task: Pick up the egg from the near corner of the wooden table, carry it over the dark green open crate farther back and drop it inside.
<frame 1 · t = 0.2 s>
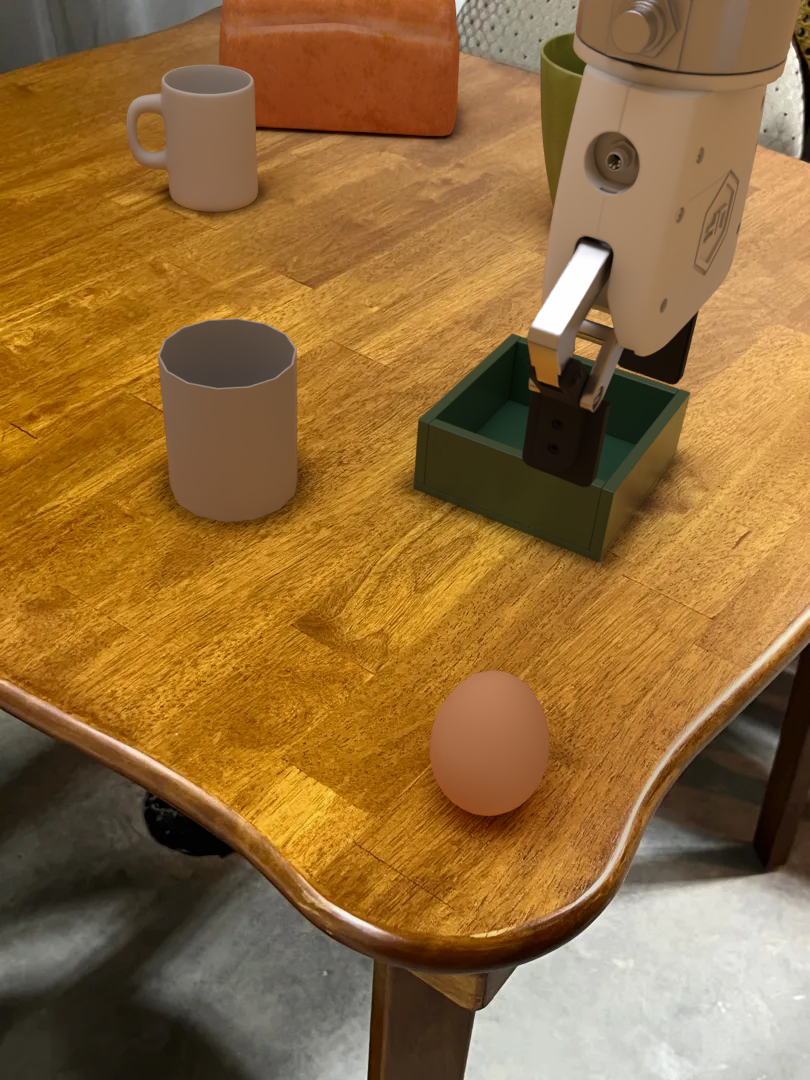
hand: (605, 420, 51), 19 cm above the table, tool pointing down, fingers open, 9 cm apart
bread: (339, 116, 131), on the table
egg: (481, 799, 58), on the table
dark green open crate: (547, 473, 80), on the table
mug: (196, 196, 112), on the table
cup: (234, 485, 77), on the table
flower pot: (596, 230, 111), on the table
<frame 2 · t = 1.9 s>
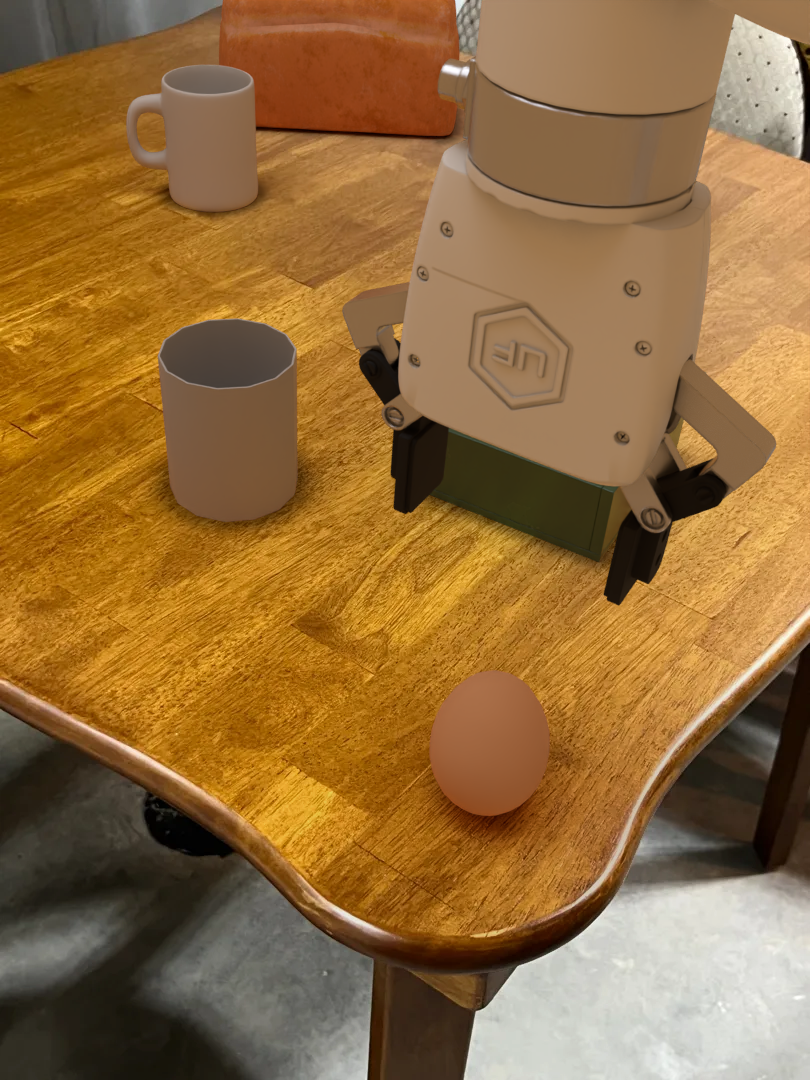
hand: (518, 538, 48), 17 cm above the table, tool pointing down, fingers open, 9 cm apart
nothing on the table moved.
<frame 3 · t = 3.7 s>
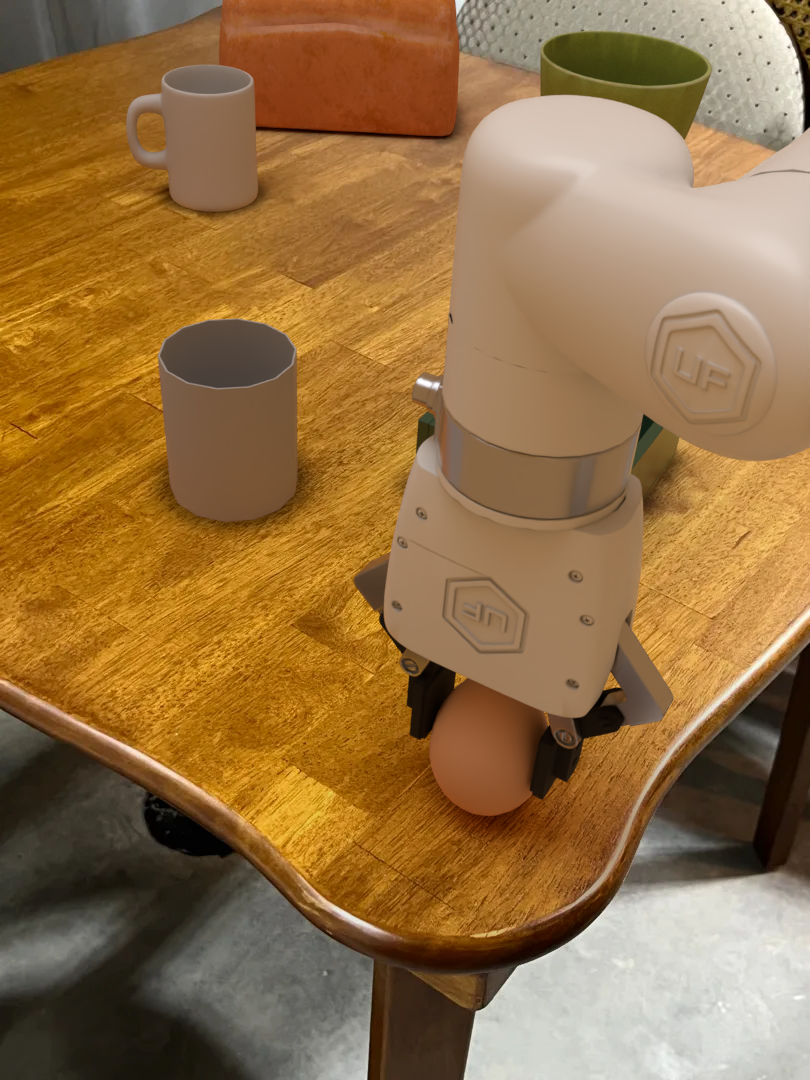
hand: (489, 745, 56), 4 cm above the table, tool pointing down, fingers closed on egg, 5 cm apart
egg: (481, 799, 58), on the table, touching gripper
everything else where it was.
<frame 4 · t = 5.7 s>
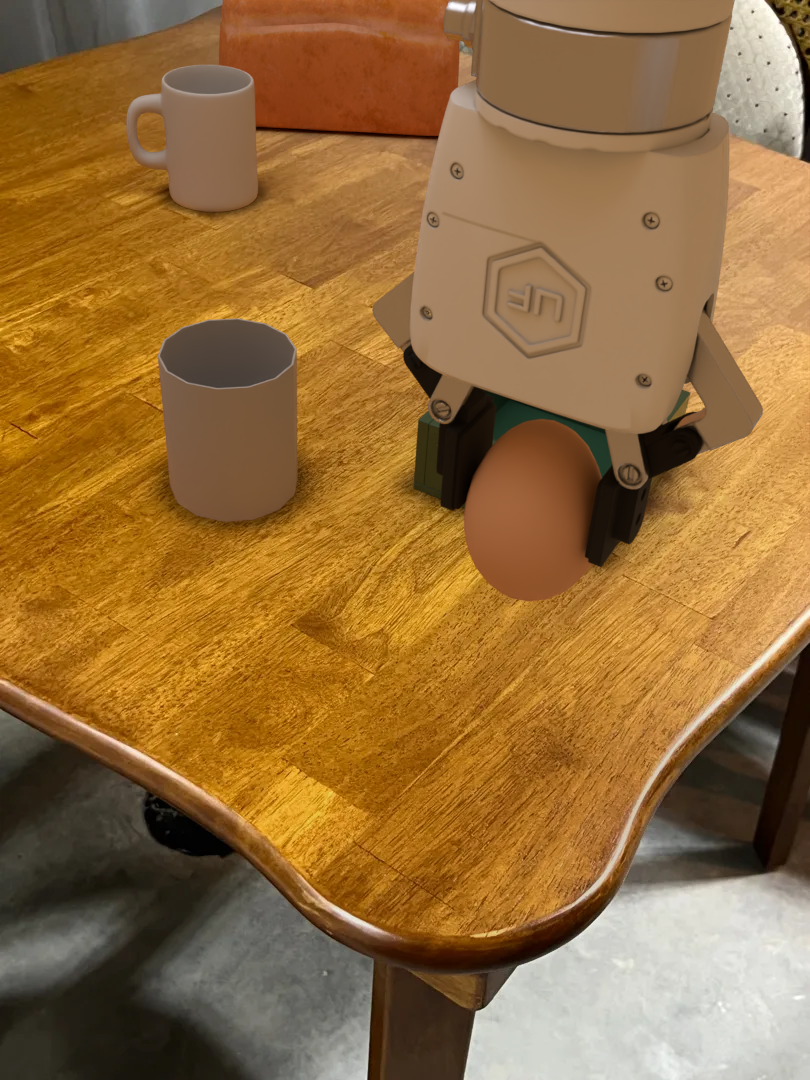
hand: (534, 515, 47), 18 cm above the table, tool pointing down, fingers closed on egg, 5 cm apart
egg: (524, 591, 50), point 14 cm above the table, touching gripper
everything else where it was.
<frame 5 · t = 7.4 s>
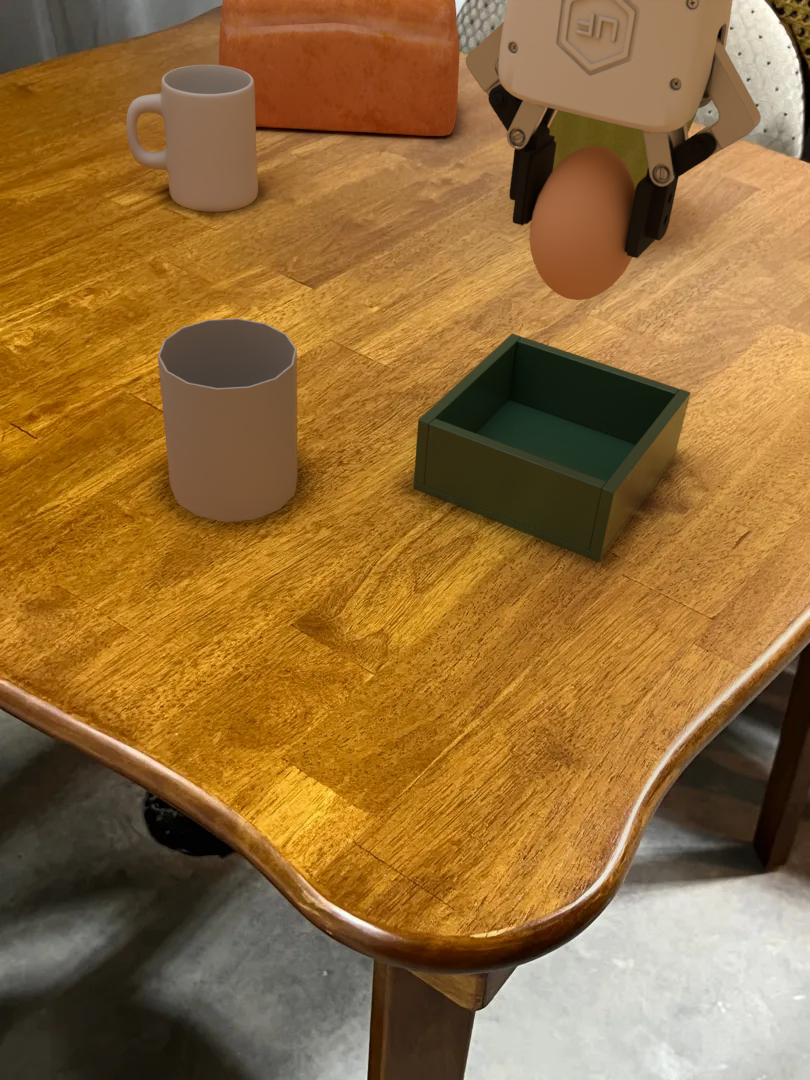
hand: (584, 228, 62), 21 cm above the table, tool pointing down, fingers closed on egg, 5 cm apart
egg: (573, 298, 64), point 17 cm above the table, touching gripper
everything else where it was.
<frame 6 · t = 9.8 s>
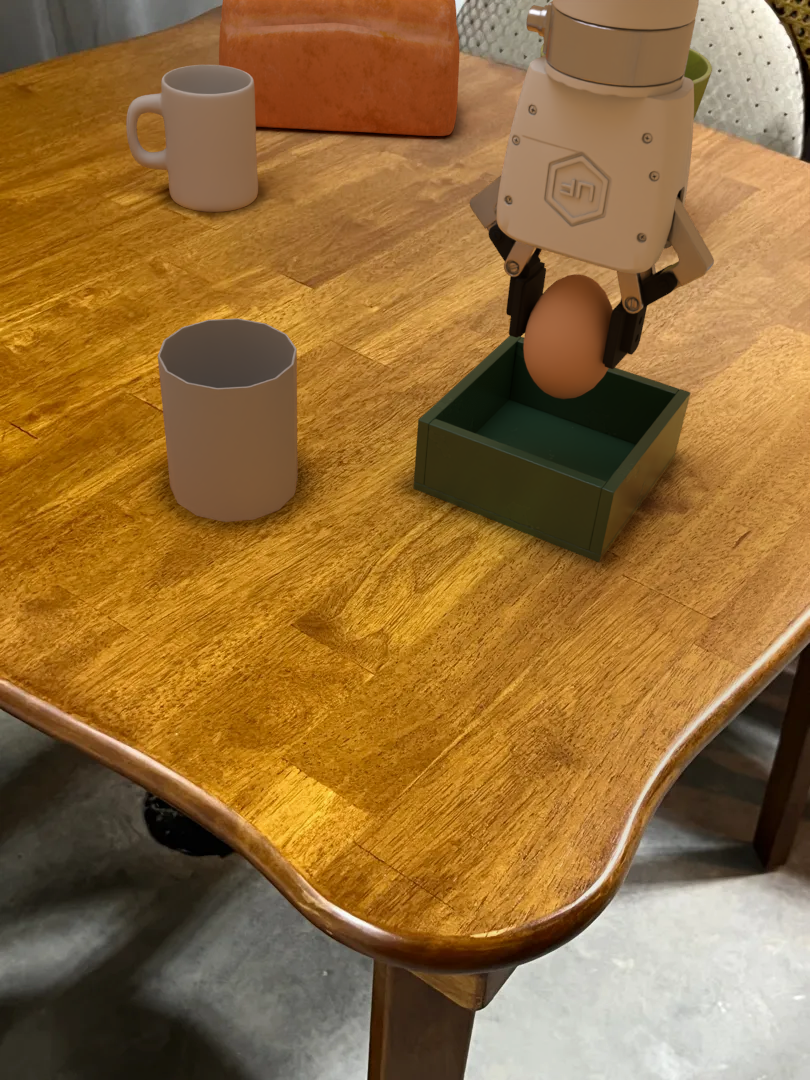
hand: (569, 340, 73), 11 cm above the table, tool pointing down, fingers closed on egg, 5 cm apart
egg: (560, 396, 76), point 6 cm above the table, touching gripper
everything else where it was.
when the fingers open (7 cm above the table, at t = 11.2 s): egg drops 1 cm, resting on dark green open crate.
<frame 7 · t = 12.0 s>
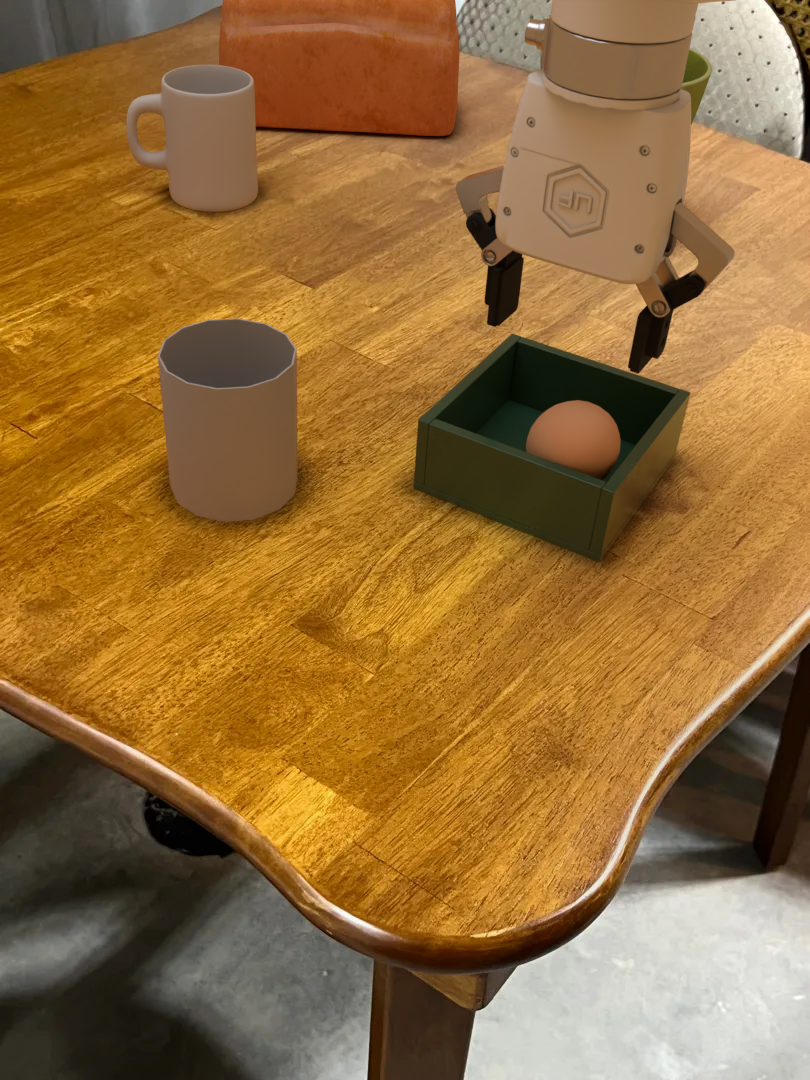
hand: (570, 339, 73), 11 cm above the table, tool pointing down, fingers open, 9 cm apart
egg: (553, 458, 78), point 2 cm above the table, touching dark green open crate
everything else where it was.
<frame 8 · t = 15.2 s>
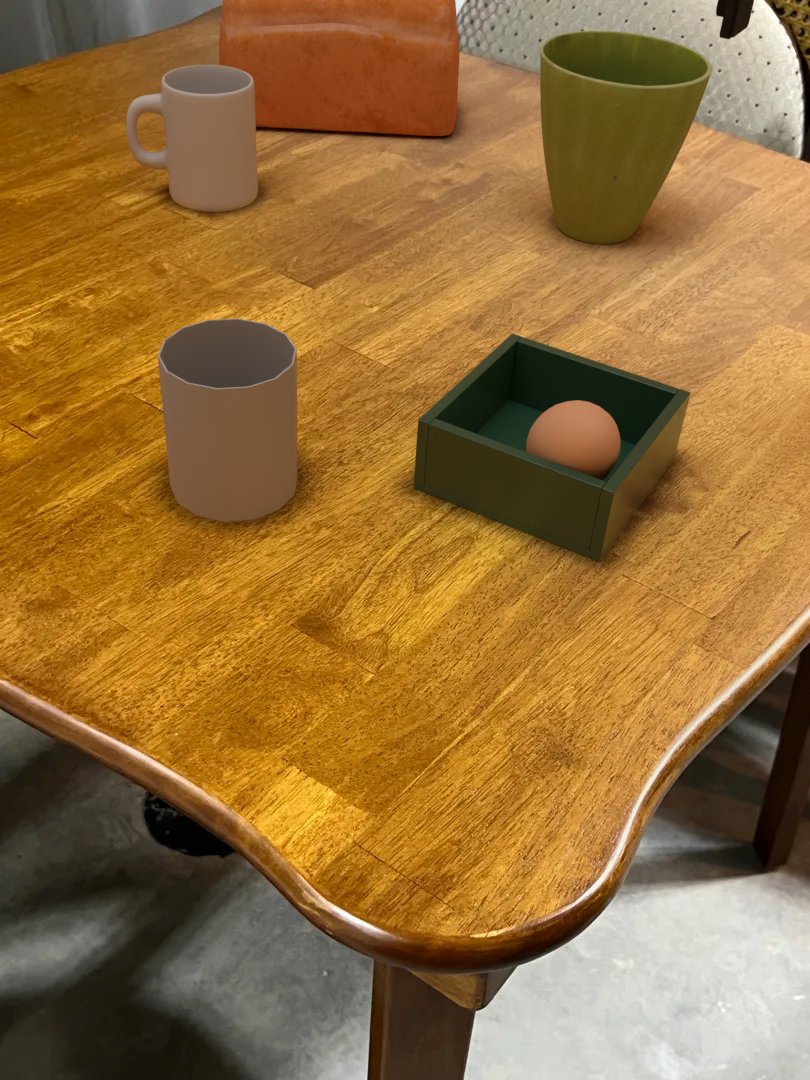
nothing on the table moved.
at the end: egg inside the target area in the dark green open crate (0.6 cm from its centre), point 1.8 cm above the dark green open crate's base; the gripper is holding nothing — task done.
